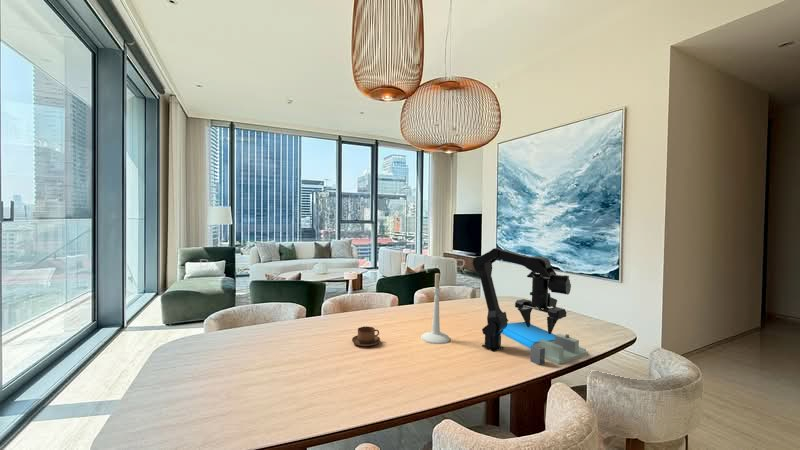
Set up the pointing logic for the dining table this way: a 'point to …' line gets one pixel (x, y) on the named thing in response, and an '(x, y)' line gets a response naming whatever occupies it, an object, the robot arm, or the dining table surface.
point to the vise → (560, 352)
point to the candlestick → (436, 320)
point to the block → (537, 355)
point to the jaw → (567, 342)
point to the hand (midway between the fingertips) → (538, 330)
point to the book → (527, 334)
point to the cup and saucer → (366, 337)
